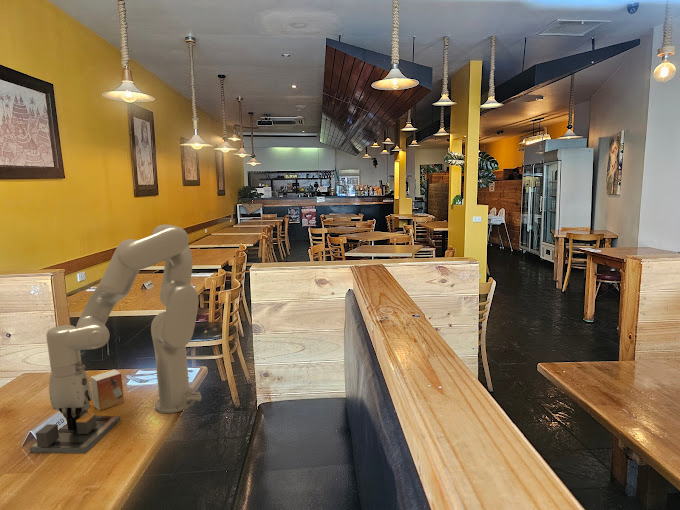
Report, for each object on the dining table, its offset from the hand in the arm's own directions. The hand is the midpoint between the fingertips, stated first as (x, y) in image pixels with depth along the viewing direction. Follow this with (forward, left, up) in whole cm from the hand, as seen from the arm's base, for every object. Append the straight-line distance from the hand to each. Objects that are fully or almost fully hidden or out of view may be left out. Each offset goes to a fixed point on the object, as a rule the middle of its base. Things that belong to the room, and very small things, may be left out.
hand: (74, 427), depth 128 cm
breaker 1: (+3, +6, -1) cm, 7 cm away
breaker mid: (-4, 0, -1) cm, 4 cm away
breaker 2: (+3, -6, -1) cm, 7 cm away
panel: (-1, 0, -3) cm, 3 cm away
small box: (+1, -19, -3) cm, 19 cm away
